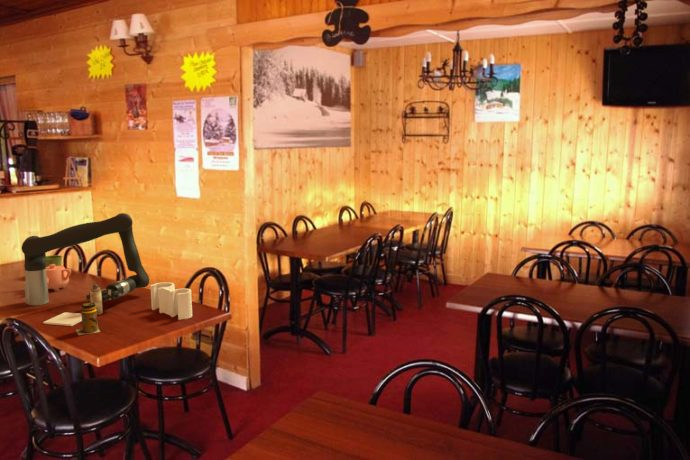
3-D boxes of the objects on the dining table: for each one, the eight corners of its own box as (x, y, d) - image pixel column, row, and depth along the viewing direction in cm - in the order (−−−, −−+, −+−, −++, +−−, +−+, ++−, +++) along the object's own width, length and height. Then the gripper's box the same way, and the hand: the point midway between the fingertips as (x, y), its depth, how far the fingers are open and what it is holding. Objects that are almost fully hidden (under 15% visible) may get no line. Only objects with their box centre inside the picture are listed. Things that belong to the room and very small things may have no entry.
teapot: (43, 295, 294) (41, 269, 292) (31, 288, 305) (29, 264, 303) (75, 289, 306) (73, 264, 304) (62, 283, 317) (60, 259, 315)
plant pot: (67, 273, 339) (66, 255, 337) (58, 278, 327) (56, 259, 325) (47, 273, 338) (46, 254, 336) (37, 278, 327) (35, 259, 325)
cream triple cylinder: (197, 315, 263) (196, 290, 261) (178, 321, 256) (177, 295, 254) (168, 304, 280) (167, 281, 278) (150, 309, 273) (148, 284, 270)
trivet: (43, 323, 251) (43, 322, 250) (64, 313, 264) (64, 312, 264) (71, 326, 248) (71, 324, 248) (91, 316, 261) (91, 314, 261)
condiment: (100, 332, 241) (98, 304, 239) (78, 335, 237) (76, 308, 235) (97, 327, 247) (95, 300, 245) (75, 330, 243) (73, 303, 241)
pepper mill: (89, 314, 263) (87, 285, 261) (95, 311, 268) (93, 282, 266) (98, 315, 262) (96, 285, 260) (104, 312, 267) (102, 283, 265)
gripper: (105, 280, 280) (81, 289, 264) (129, 283, 276) (107, 292, 261) (106, 295, 281) (82, 304, 266) (130, 298, 277) (108, 307, 262)
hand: (94, 298), depth 263 cm, fingers open, 8 cm apart
